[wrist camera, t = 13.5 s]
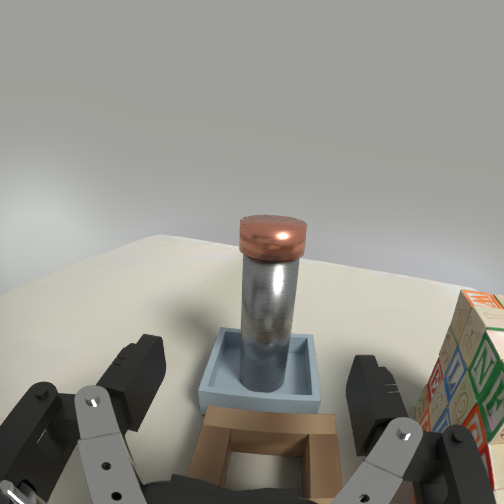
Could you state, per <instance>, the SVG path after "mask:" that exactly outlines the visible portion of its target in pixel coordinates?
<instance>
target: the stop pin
mask: <svg viewBox="0 0 504 504" xmlns="http://www.w3.org/2000/svg"><path fill="white" fill-rule="evenodd" d="M306 228H307V224H306V223H305V222H304V221H301V220H299V219H295V218H291V217H285V216H275V215H255V216H248V217H244V218H242V219H241V220H240V241H239V250H240V252H241V253H243V278H242V309H241V342H240V382H241V384H242V385H243V386H244V387H245V388H246V389H248V390H250V391H252V392H263V393H270V392H274V391H276V390H278V389H279V388H281V387H282V385H283V384H284V380H285V373H286V366H287V359H288V351H289V344H290V336H291V329H292V321H293V312H294V304H295V295H296V286H297V277H298V267H299V258H300V257H301V256H303V255H304V250H305V240H306Z"/></svg>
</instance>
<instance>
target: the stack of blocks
mask: <svg viewBox="0 0 504 504" xmlns="http://www.w3.org/2000/svg"><path fill="white" fill-rule="evenodd" d="M416 422H417V423H419V425H420V426H421V428H422V430H424V431H429V432H436V433H443V432H444V430H445V429H446V428H447V427H448V426H450V425H455V424H457V425H462V426H464V427H466V428H468V429H469V430H470V431H471V433H472V435H473V437H474V439H475V442H476V445H477V447H478V450H479V452H480V455H481V458H482V460H483V463H484V466H485V469H486V472H487V475H488V478H489V481H490V484H491V487H492V490H493V493H494V496H495V500H496V503H497V504H504V296H502V295H497V294H494V295H492V294H489V293H482V292H476V291H469V290H461V291H460V294H459V297H458V301H457V304H456V308H455V311H454V315H453V318H452V321H451V324H450V326H449V329H448V331H447V334H446V337H445V340H444V342H443V345H442V347H441V350H440V353H439V358H438V360H437V362H436V364H435V367H434V369H433V372H432V374H431V376H430V379H429V381H428V383H427V384H426V385H425V387H424V390H423V392H422V394H421V396H420V399H419V401H418V403H417V405H416ZM414 504H416V499H414Z"/></svg>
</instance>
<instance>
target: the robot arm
mask: <svg viewBox="0 0 504 504" xmlns="http://www.w3.org/2000/svg"><path fill="white" fill-rule="evenodd" d="M165 373H166V361H165V354H164V347H163V340H162V338H161V337H159V336H154V335H148V334H143V335H142V337H141V338H140V339H139V341H138V342H137V344H134V343H131V344H129V345H128V346H126V347H125V348H123V349H122V350H121V351H120V353H119V354H118V355H117V358H115V360H114V361H113V362H112V364H111V365H110V366H109V368H108V369H107V370H106V372H105V373H104V374H103V376H102V377H101V379H100V380H99V381H98V383H97V384H96V385H92V386H86V387H84V388H82V389H80V390H79V391H78V392H77V393H76V394H63V393H58V391H57V389H56V387H55V386H54V385H53V384H52V383H49V382H39V383H36V384H34V385H32V386H31V387H30V388H29V389H28V391H27V392H26V393H25V394H24V396H23V397H22V398H21V399H20V401H19V402H18V403H17V405H16V406H15V407H14V409H13V410H12V411H11V412H10V414H9V415H8V416H7V418H6V419H5V420H4V422H3V423H2V425H1V426H0V504H47V502H48V500H49V498H50V495H51V493H52V491H53V489H54V487H55V485H56V483H57V481H58V479H59V477H60V475H61V473H62V471H63V469H64V467H65V465H66V463H67V461H68V460H69V458H70V456H71V454H72V452H73V450H74V448H75V446H76V444H78V447H79V452H80V456H81V461H82V465H83V469H84V473H85V477H86V481H87V484H88V488H89V492H90V495H91V498H92V502H93V504H318V503H316V502H314V501H312V500H309V499H306V498H303V497H299V489H277V488H263V489H255V490H245V491H231V490H228V489H225V488H222V487H220V486H217V485H214V484H212V483H209V482H207V481H204V480H201V479H195V478H190V477H185V476H181V475H176V474H172V477H171V480H170V481H158V482H152V483H148V484H145V485H144V483H143V480H142V478H141V476H140V474H139V472H138V469H137V467H136V464H135V462H134V459H133V457H132V454H131V451H130V449H129V446H128V443H127V440H126V438H125V434H126V432H127V430H132V431H135V432H137V431H138V429H139V427H140V425H141V423H142V421H143V419H144V417H145V415H146V413H147V411H148V409H149V407H150V405H151V403H152V401H153V399H154V397H155V395H156V393H157V391H158V389H159V387H160V385H161V383H162V381H163V379H164V376H165ZM346 398H347V403H348V408H349V413H350V419H351V424H352V430H353V436H354V442H355V448H356V454H357V456H366V459H365V460H364V461H363V462H362V463H361V465H360V466H359V467H358V469H357V470H356V472H355V473H354V474H353V475H352V477H351V478H350V479H349V481H348V482H347V483H346V484H345V486H344V487H343V488H342V489H341V491H340V492H339V493H338V494H337V495H336V497H335V498H334V499H333V500H332V501H331V503H330V504H389V503H390V501H391V500H392V498H393V496H394V495H395V493H396V491H397V490H398V488H399V486H400V484H401V483H402V481H411V482H413V487H414V493H415V499H416V504H497V503H496V500H495V496H494V493H493V490H492V487H491V484H490V481H489V478H488V475H487V472H486V469H485V466H484V463H483V460H482V458H481V455H480V452H479V450H478V447H477V445H476V442H475V439H474V437H473V435H472V433H471V431H470V430H469V429H468V428H466V427H464V426H462V425H457V424H455V425H450V426H448V427H447V428H446V429H445V430H444V432H443V433H436V432H429V431H424V430H422V428H421V426H420V425H419V423H417V422H416V421H415V420H413V419H410V418H409V417H408V415H407V412H406V409H405V407H404V404H403V401H402V399H401V396H400V393H399V392H398V388H397V385H396V383H395V380H394V378H393V375H392V374H391V373H390V372H389V371H388V370H387V369H386V368H385V367H379V366H378V364H377V361H376V358H375V356H374V355H356V356H355V358H354V361H353V364H352V368H351V371H350V374H349V378H348V381H347V385H346ZM44 431H45V432H44ZM43 432H44V434H43ZM42 434H43V435H42ZM41 435H42V437H41ZM40 437H41V438H40ZM39 438H40V440H39ZM38 440H39V442H38ZM37 442H38V443H37Z"/></svg>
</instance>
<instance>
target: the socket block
mask: <svg viewBox="0 0 504 504" xmlns="http://www.w3.org/2000/svg"><path fill="white" fill-rule="evenodd" d="M231 451H235V452H243V453H253V454H265V455H281V456H302V497H303V498H306V499H309V500H312V501H314V502H316V503H318V504H330V503H331V501H332V500H333V499H334V498H335V497H336V495H337V494H338V493H339V492H340V491H341V489H342V488H343V486H342V475H341V466H340V457H339V448H338V439H337V431H336V424H335V416H334V414H294V413H276V412H263V411H252V410H242V409H233V408H225V407H218V406H211V405H208V408H207V411H206V415H205V418H204V421H203V425H202V428H201V431H200V435H199V438H198V441H197V445H196V448H195V451H194V455H193V458H192V461H191V464H190V468H189V471H188V474H187V477H190V478H195V479H201V480H204V481H207V482H209V483H212V484H214V485H217V486H220V487H222V488H224V483H225V478H226V473H227V468H228V463H229V458H230V453H231Z"/></svg>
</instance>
